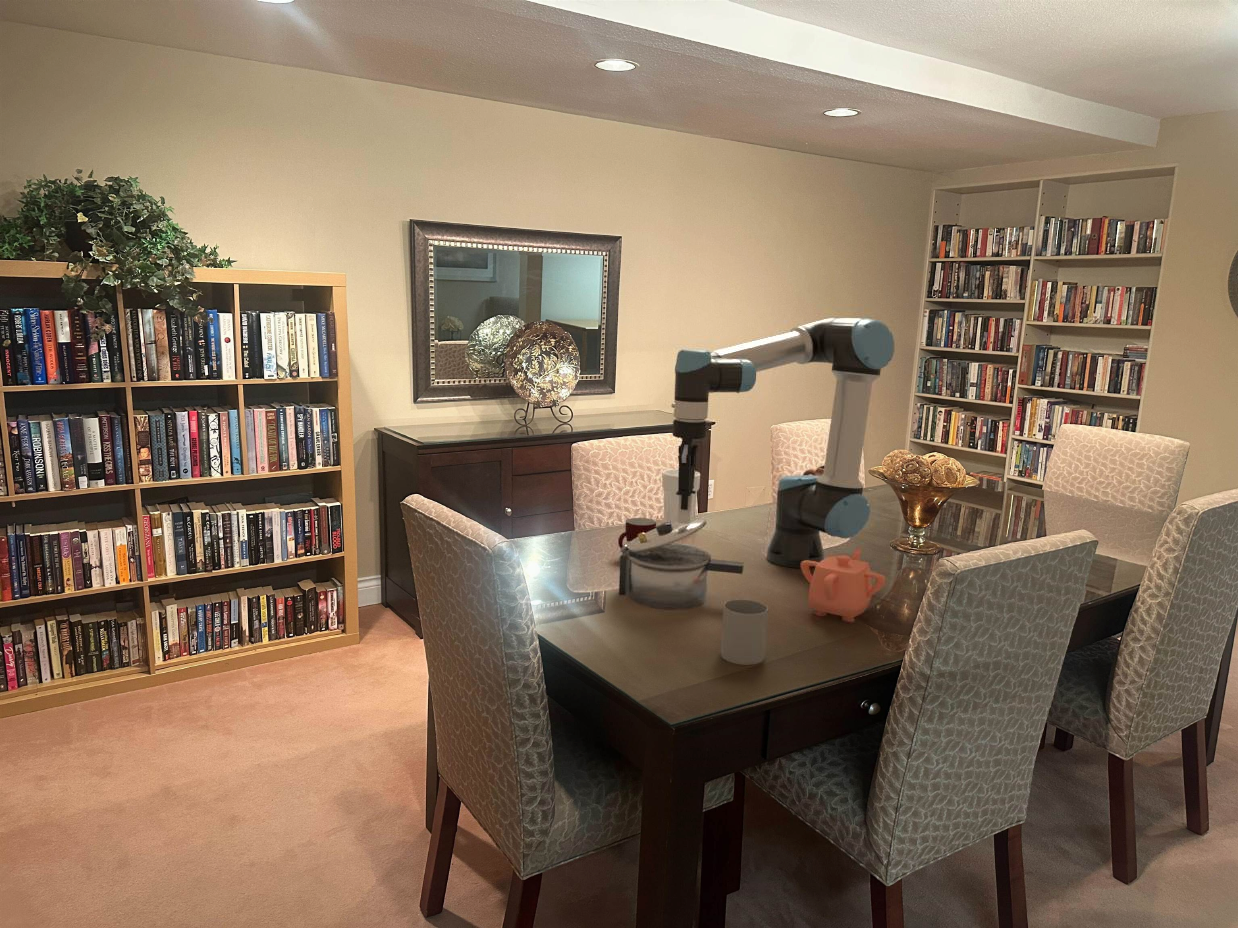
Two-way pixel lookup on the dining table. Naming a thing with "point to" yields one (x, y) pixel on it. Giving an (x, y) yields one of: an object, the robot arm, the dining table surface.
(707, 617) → the dining table surface
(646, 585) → the pot
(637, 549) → the lid
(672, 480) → the cup
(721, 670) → the dining table surface
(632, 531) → the mug
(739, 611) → the cup
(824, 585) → the teapot
